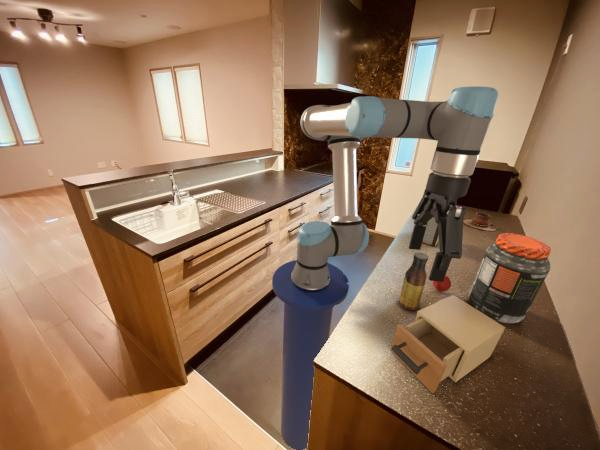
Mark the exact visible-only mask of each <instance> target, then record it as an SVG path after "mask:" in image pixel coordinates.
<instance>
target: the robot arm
mask: <svg viewBox="0 0 600 450" xmlns="http://www.w3.org/2000/svg"><path fill="white" fill-rule="evenodd" d="M498 98H499V91H498V90H497V89H496V88H494V87H490V86H461V87H455V88H453V89H452V90H451V92H450V93H449V97H448V98H447V100H445V101H426V100H424V101H423V100H415V99H414V100H413V99H400V98H398V99H396V98H388V97H379V96H378V97H377V96H374V95H369V96H368V95H366V96H357V97H354V98H353V99H352V100H351V102H347V103H342V104H337V105H328V104H327V105H326V104H316V105H311V106H309V107H307V108H306V109H305V110H304V111H302V114H301V116H300V121H299V124H300V125H299V126H300V129H301V131H302V132H303V134H304V135H305V136H306V137H308V138H309V139H312V140H315V141H322V142H323V141H324V142H327V148H328V149H329V150H330V151H331V152H332V154H331V155H332V177H333V178H332V179H333V205H334V206H333V207H334V208H333V209H334V215H333V216H332V218H331V219H330V223H328V222H326V221H319V220H313V221H312V220H311V221H308V222H306V223H304V224H302V225H301V226H300V227H299V229H298V233H297V238H296V241H297V242H296V243H297V247H296V260H297V262H296V265H295V267H294V270H293V271H292V274H291V281H292V283H293V285H294V286H295V287H296V288H298V289H300V290H302V291H306V292H319V291H322V290H324V289H326V288H327V287H328V286H329V284H330V274H329V270H328V266H327V263H328V260H329V258H334V257H339V256H348V255H355V254H360V253H362V252H364V251H365V250H366V248H367V246H368V245H369V240H370V233H369V232H370V231H369V229H368V226H367V225H366V224H365V223H364V222H363V219H362V217H361V216H360V215H359V214H358V212H359V211H358V177H357V175H358V174H357V173H358V171H357V149H358V148H359V147H360V146H361V141H362V140H363V139H367V138H382V139H383V138H385V139H386V138H388V139H389V138H392V139H420V140H430V141H436V142H437V143H436V147H435V150H434V153H433V157H432V161H431V164H430V170H431V171H432V172H430V173H429V174H428V177H427V181H426V185H425V189H424V191H423V194H422V197H421V199H420V201H419V203H418V204H417V206H416V208H415V210H414V212H413V214H412V216H411V218H412V219H411V220H413V224H414V225H413V230H412V233H411V237H410V241H409V244H408V250H414V251H415V250H416V251H421V248H422V244H423V242H422V241H423V238H424V234H425V231H426V226H423V225H427V224H428V223H427V222H428V221H429V220H430V219H431V218H432V217H433V216H434V217H435V222H436V223H437V224H438V233H439V242H438V245H439V246H438V247H439V248H438V249H439V251H438V252H435V258H434V260H433V263H432V266H431V269H430V273H429V276H428V280H429V281H431V282H433V281H439V282H443V281H444V278H445V275H447V272H448V270H449V268H450V265H451V262H452V260H453V259H457V260H461V259H462V254H463V237H464V235H463V234H464V222H463V221H464V220H465V219H464V218H465V215H466V211H467V208H466V207H465V206H458V205H457V203H458V199H460V198H464V197H465V196H466V195H467V193H468V191H469V187H470V184H471V181H472V180H471V176H472V175H473V174H474V171H475V168H476V166H477V163H478V162H479V155H480V153H481V148H482V145H483V143H484V141H485V138H486V135H487V133H488V130H489V127H490V125H491V122H492V120H493V118H494V115H495V114H494V113H495V108H496V104H497V102H498Z"/></svg>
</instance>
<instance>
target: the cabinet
mask: <svg viewBox="0 0 600 450" xmlns="http://www.w3.org/2000/svg"><path fill="white" fill-rule="evenodd" d="M415 315H416V316H415V318H414V321H416V320H418V319H420V318H423V319H425V320H426V321H427V322H428V323H430V324H431V325H432V326H433V327H435V328H436V329H437V330H439V331H440V332H441V333H442V334H444V335H445V336H446V337H448V338H449V339H450V340H451V341H453V342H454V343H455V344H456V345H458V346H459V347H460V348H462V349H463V350H464V351H465V352H464V354H463V356H462V358H461V361H460V363H459V365H458V367H457V369H456V371H455V372H454V373H452V374H451V375H449V376H448V378H450V380H452V381H453V382H454V383H457V382H458V381H460V380H461V379H462V378H464V377H465V376H466V375H468V374H469V373H470V372H471V371H473V370H474V369H476V368H477V367H478V366H480V365H482V364H483V363H484V362H485V361H486V360H488V359H489V358H491V356H492V354H493V353H494V350H495V348H496V346H497V345H498V342H499V341H500V340H501V337H502V335H503V333H504V331H505V329H506V326H504V325H502V324H501V323H500V322H498V321H496V320H494V319H491V318H489V317H488V316H486V315H485V314H483V313H481V312H480V311H478V310H477V309H475V308H474V307H473V306H472V305H470V304H468V303H467V302H466V301H464V300H463V299H461V298H459V297H457V296H456V295H455V294H450V295H449V296H447V297H445V298H443V299H441V300H438V301H437V302H434V303H432V304H429V305H428V306H425V307H423V308H421V309H420V310H417V313H416V314H415Z"/></svg>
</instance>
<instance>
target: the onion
mask: <svg viewBox="0 0 600 450" xmlns="http://www.w3.org/2000/svg"><path fill="white" fill-rule="evenodd" d="M432 286H433V287H434V289H436V291H437V292H439V293H442V292H447V291H449V290H450V289H451V287H452V281H451V279H450V277H449V276H448V275H447V274H446V275H445V278H444V281H443V282H439V281H432Z"/></svg>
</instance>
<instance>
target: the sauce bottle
mask: <svg viewBox="0 0 600 450" xmlns="http://www.w3.org/2000/svg"><path fill="white" fill-rule="evenodd" d="M428 261H429V255H428V254H427V253H424V252H420V251H416V252H414V254H413V260H412V263H411V265H410V266H409V268H408V269H407V270H406V272H405V275H404V280H403V283H402V287H401V291H400V296H399V304H400V305H401V307H402V308H403V309H406V310H409V311H415V310H417V309H419V305H420V303H421V300H422V296H423V292H424V289H425V286H426V281H427V279H428V278H427V277H428V276H427V275H428V274H427V271H426V265H427V262H428Z"/></svg>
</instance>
